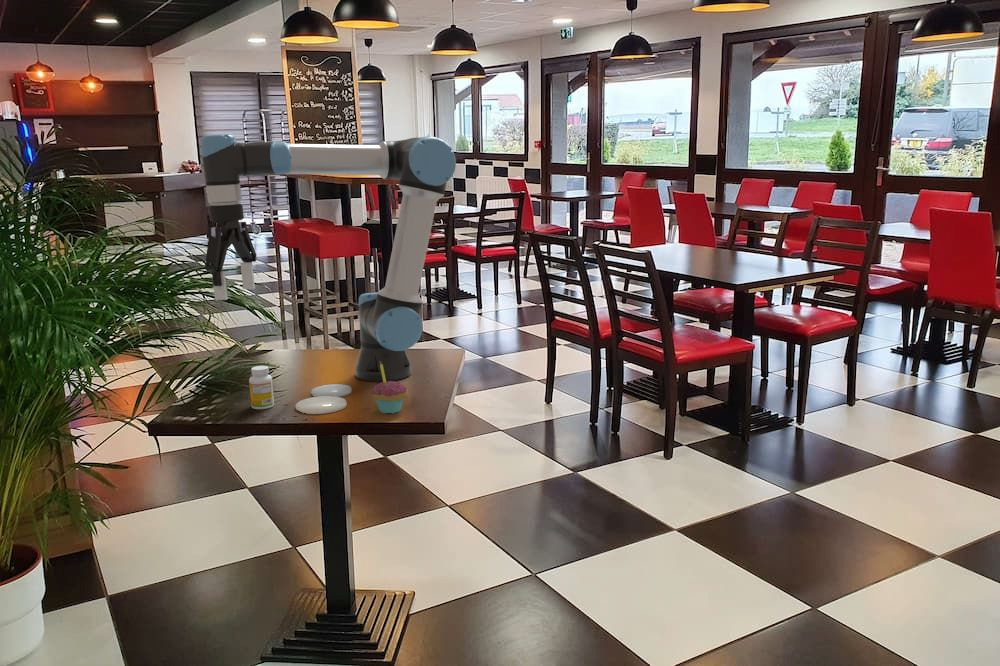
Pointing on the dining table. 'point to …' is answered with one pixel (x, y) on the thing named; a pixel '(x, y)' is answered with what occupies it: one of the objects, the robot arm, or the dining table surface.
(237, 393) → the dining table surface
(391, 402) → the cupcake
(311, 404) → the cream coaster
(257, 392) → the supplement bottle
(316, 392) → the grey coaster
